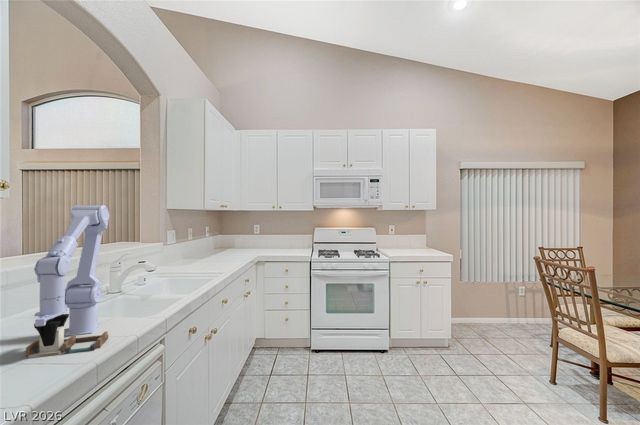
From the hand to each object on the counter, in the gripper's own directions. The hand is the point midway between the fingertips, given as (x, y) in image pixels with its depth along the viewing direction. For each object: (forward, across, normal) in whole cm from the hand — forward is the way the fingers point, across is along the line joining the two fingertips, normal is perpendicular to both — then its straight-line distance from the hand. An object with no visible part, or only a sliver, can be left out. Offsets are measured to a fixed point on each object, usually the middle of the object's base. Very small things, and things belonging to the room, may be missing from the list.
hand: (52, 342), depth 92 cm
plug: (+2, 0, 0) cm, 2 cm away
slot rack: (+2, 0, +4) cm, 5 cm away
